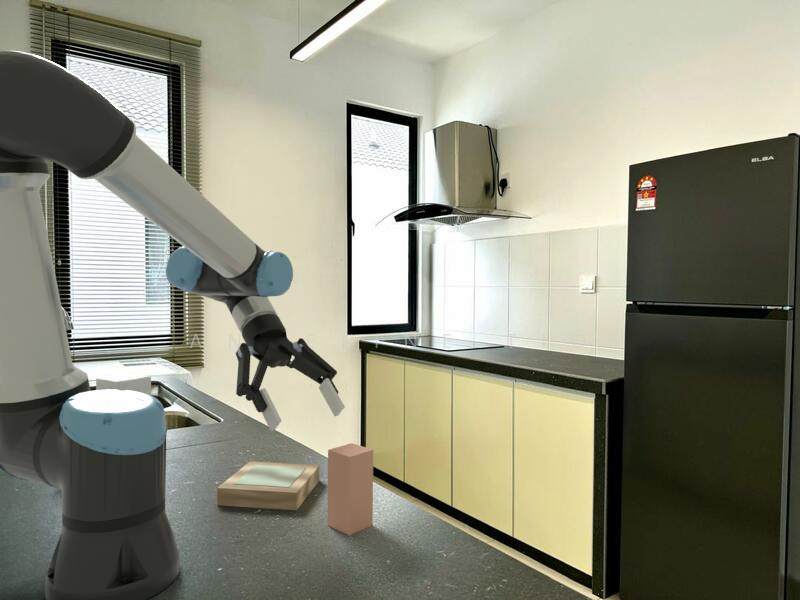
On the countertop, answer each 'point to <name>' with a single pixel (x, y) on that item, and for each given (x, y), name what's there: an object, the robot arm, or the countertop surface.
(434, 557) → the countertop surface
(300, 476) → the oak picture frame
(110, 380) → the supplement box
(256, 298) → the robot arm
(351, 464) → the tall block
